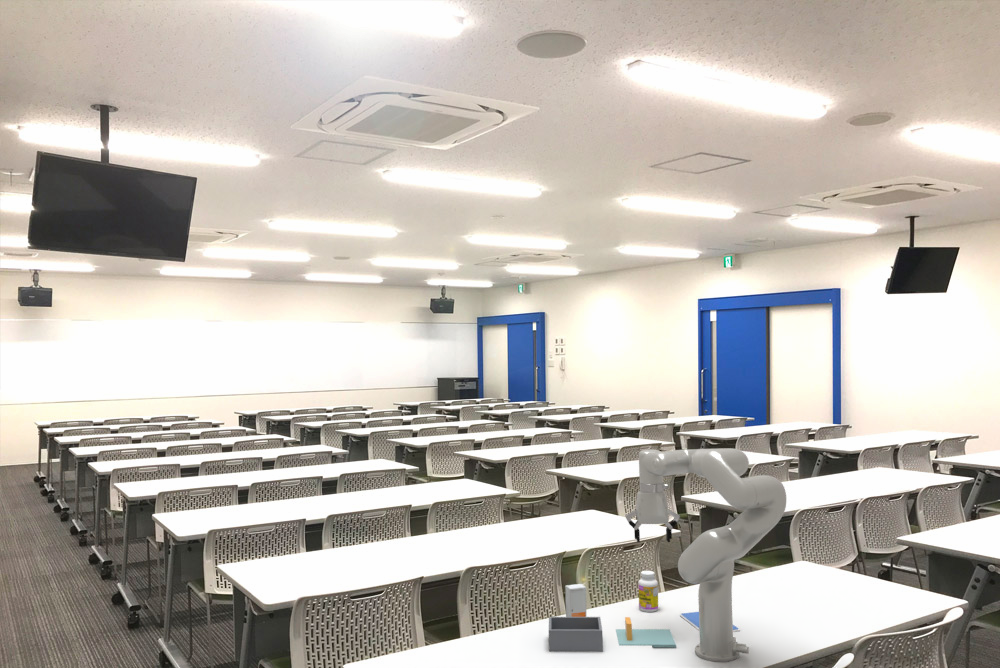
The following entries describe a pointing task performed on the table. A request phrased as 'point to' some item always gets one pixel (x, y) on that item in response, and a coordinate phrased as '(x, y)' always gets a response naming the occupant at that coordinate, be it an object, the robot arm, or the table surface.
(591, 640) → the tub
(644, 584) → the supplement bottle
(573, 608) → the skincare box
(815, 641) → the table surface
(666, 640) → the lid
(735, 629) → the tablet computer
